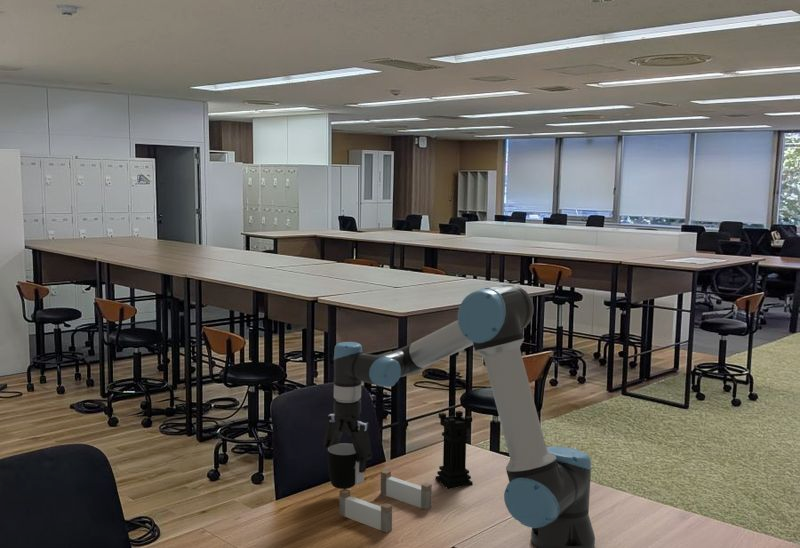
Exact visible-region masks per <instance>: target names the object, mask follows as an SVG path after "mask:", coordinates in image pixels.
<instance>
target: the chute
mask: <svg viewBox="0 0 800 548" xmlns="http://www.w3.org/2000/svg"><path fill="white" fill-rule="evenodd" d="M432 486H433V485H432V483H428V482H424V483H422V484H421V485H419V484H416V483H413V482H409V481H406V480H402V479H400V478H397V477H394V476H392V471H390V470H387V469H384V470H382V471H380V495H382V496H386V497H389V498H392V499H394V500H398V501H401V502H403V503H405V504H409V505H412V506H414V507H417V508H421V509H423V510H426V511H427V510H429V509H431V508H432V493H433V492H432ZM338 495H339V499H338V500H339V501H338V503H339V505H338V506H339V507H338V508H339V509H338V510H339V515H340V516H342V517H345V518H348V519H350V520H353V521H355V522H357V523H360V524H364V525H366V526H368V527H371V528H373V529H376V530H379V531H381V532H384V533H389V532H391V531H392V530H393V505H392V504H390V503H386V502H385V503H384V504H382V505H377V504H375V503H372V502H369V501H366V500H364V499H360V498H358V497H354V496H353V495H351V490H349V489H340V490H339V494H338Z"/></svg>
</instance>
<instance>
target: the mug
mask: <svg viewBox="0 0 800 548" xmlns="http://www.w3.org/2000/svg"><path fill="white" fill-rule="evenodd" d="M357 460H358V458H357V455H356V452H355V449H354V446H353V443H345V442H344V443H339V444H335V445H332V446H330V447H329V448H328V450H327V467H328V476H329V480H330V483H331V485H332V487H333V488H335V489H340V490H343V489H347V490H349V489H351V488H353V487H354V486H356V484H355V467H356V461H357Z"/></svg>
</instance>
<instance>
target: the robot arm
mask: <svg viewBox="0 0 800 548" xmlns="http://www.w3.org/2000/svg"><path fill="white" fill-rule="evenodd" d="M529 294H530V293H528V292H527V290H525V289H524V288H522V287H520V286H518V285H514V284H505V285H504V284H502V285H499V286H498V285H497V286H492V287H486V288H485V287H484V288H481V289H478V290H475V291H472V292H470V293H469V294H468V295H466V296H465V297H464V299H463V300H462V301H461V303H460V305H459V307H458V311H457V320H454V321H453V322H451V323H449V324H447V325H445V326H443V327H441V328H439V329H437V330H435V331H433V332H432V333H429V334H426V335H425V336H423V337H422V338H419V339H418V340H415V341H414V342H411V343H410V344H407V345H406V346H403V347H401V348H399V349H395V350H393V351H391V350H390V351H388V352H384V353H380V354H371V353H366V352H363V346H362V344H360V343H359V342H356V341H342V342H339V343H336V345H335V346H334V353H333V370H334V371H333V398H334V400H333V413H330V414H327V415H326V416H325V420H326V421H325V422H326V426H325V430H324V431H325V432H324V436H323V441H322V442H323V443H322V448H323V449H327V451H328V448H329V447H330V446H332V445H335V444H340V441H341V439H342V436H343V434H344V433H345V434H347V435H348V437H349V438H350V441H351V444H353V446H354V449H355V452H356V455H357V458H358V460H357V461H356V467H355V485H360V484H362V483H364V481H365V472H366V470H367V469H366V467H367V464H366V463H367V462H366V461H369V460H371V459H372V458H373V454H372V453H373V452H372V446H371V440H370V432H369V428H370V424H369V422H363V421H361V418H360V415H361V414H362V400H361V398H362V383H367V384H371V385H375V386H377V387H386V388H390V387H393V386H395V385H396V383H398V382H399V379H400V378H402V377H407V376H409V375H415V374H417V373H419V372H421V371H422V370H424V369H425V368H426V367H429V366H430V365H433V364H435V363H437V362H439V361H441V360H443V359H446V358H448V357H450V356H452V355H454V354H456V353H459V352H460V351H463V350H465V349H467V348H469V347H472V346H473V349H474V351H475V353H477V354H478V355H480V356H481V357H482V358H483V361H484V364H485V365H484V366H485V369H486V372H487V375H488V380H489V384H490V387H491V390H492V391H491V392H492V394H493V395H492V396H493V399H494V403H495V407H496V410H497V414H498V417H499V422H500V424H501V425H500V426H501V429H502V433H503V436H504V441H505V444H506V447H507V451H508V456H509V461H508V462H507V464H506V467H505V469H506V474H507V478H508V481H509V482H508V483H507V485H506V487H505V489H504V493H503V500H504V504H505V507H506V509H507V511H508V513H509V514H510V516H511V517H512V518H513V520H516V521H518V522H519V523H520V524H521V525H522V526H525V527H527V528H531V531H530V540H531V543H532V545H533V546H535V547H536V548H595V545H596V543H595V542H596V537H595V533H594V529H593V526H592V521H591V519H590V515H589V510H590V509H589V507H590V496H591V494H590V493H591V472H592V465H591V462H592V460H591V457H590V456H589V455H588V453H586V452H584V451H582V450H579V449H576V448H573V447H572V448H571V447H565V446H555V445H554V446H547V445H546V441H545V438H544V433H543V430H542V426H541V422H540V420H539V419H540V418H539V416H538V411H537V407H536V404H535V399H534V396H533V392H532V389H531V385H530V381H529V377H528V374H527V371H526V370H527V369H526V367H525V363H524V360H523V355H522V351H521V346H522V344H523V342H524V340H525V337H524V334H523V333H524V332H523V329H525V328H526V327H527V326H528V325H529V324H530V322H531V321H532V318H533V315H534V310H535V309H534V308H535V307H534V302H533V299H532V297H531V296H530V295H529Z"/></svg>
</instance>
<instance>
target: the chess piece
mask: <svg viewBox="0 0 800 548" xmlns="http://www.w3.org/2000/svg"><path fill="white" fill-rule="evenodd" d="M463 415H464V413H463V411H462V410H456V411H455V414H454V415H450V416H447V413H445V412H440V413H438V418H439V419H440V421H439V423H440V424H439V425H440V426H442V427H443V432H441V436H443V446H442V447H443V451H442V452H443V453H442V465H439V467H438V468H439V469H438V470H437V473H436V474H437V475H435V477H434V478H435V480H436V479H437V480H438V482H439V483H440V485H442V486H444V487H445V488H446V487H447V489H448V490H451V489H457V488H461V487H467V486H473V483H474V482H473V481H472V477H471V475H470V471H469V469H467V468H466V466H467V465H466V464H467V463H466V459H467V457H466V455H467V440H468V439H469V435H467V429H471V423H472V422H473V417H472V416H470V415H468V416H464V417H463ZM437 480H436V481H437ZM456 487H457V488H456ZM450 488H451V489H450Z"/></svg>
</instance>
